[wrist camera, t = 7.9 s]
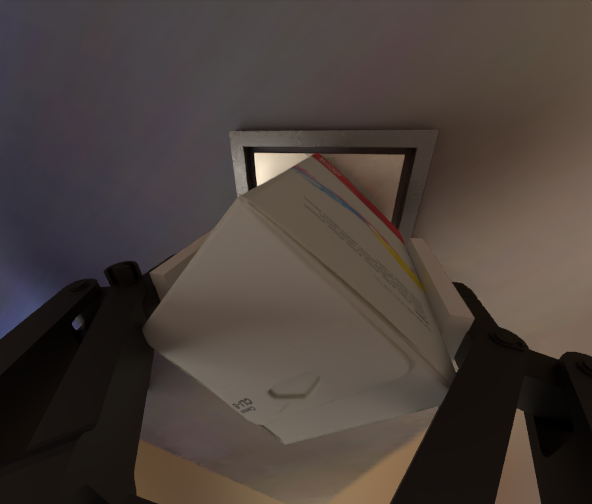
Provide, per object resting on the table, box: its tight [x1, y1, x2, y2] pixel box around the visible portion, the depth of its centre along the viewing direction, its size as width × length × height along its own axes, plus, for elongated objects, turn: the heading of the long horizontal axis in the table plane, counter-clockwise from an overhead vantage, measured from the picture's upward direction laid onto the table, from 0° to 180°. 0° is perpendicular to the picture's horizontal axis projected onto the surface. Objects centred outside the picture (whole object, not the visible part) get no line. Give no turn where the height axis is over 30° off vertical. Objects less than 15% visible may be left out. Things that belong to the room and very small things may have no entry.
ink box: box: [142, 152, 456, 444], centre depth 12 cm, size 9×9×12 cm
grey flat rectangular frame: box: [229, 130, 439, 248], centre depth 22 cm, size 14×27×1 cm, turn 0°
